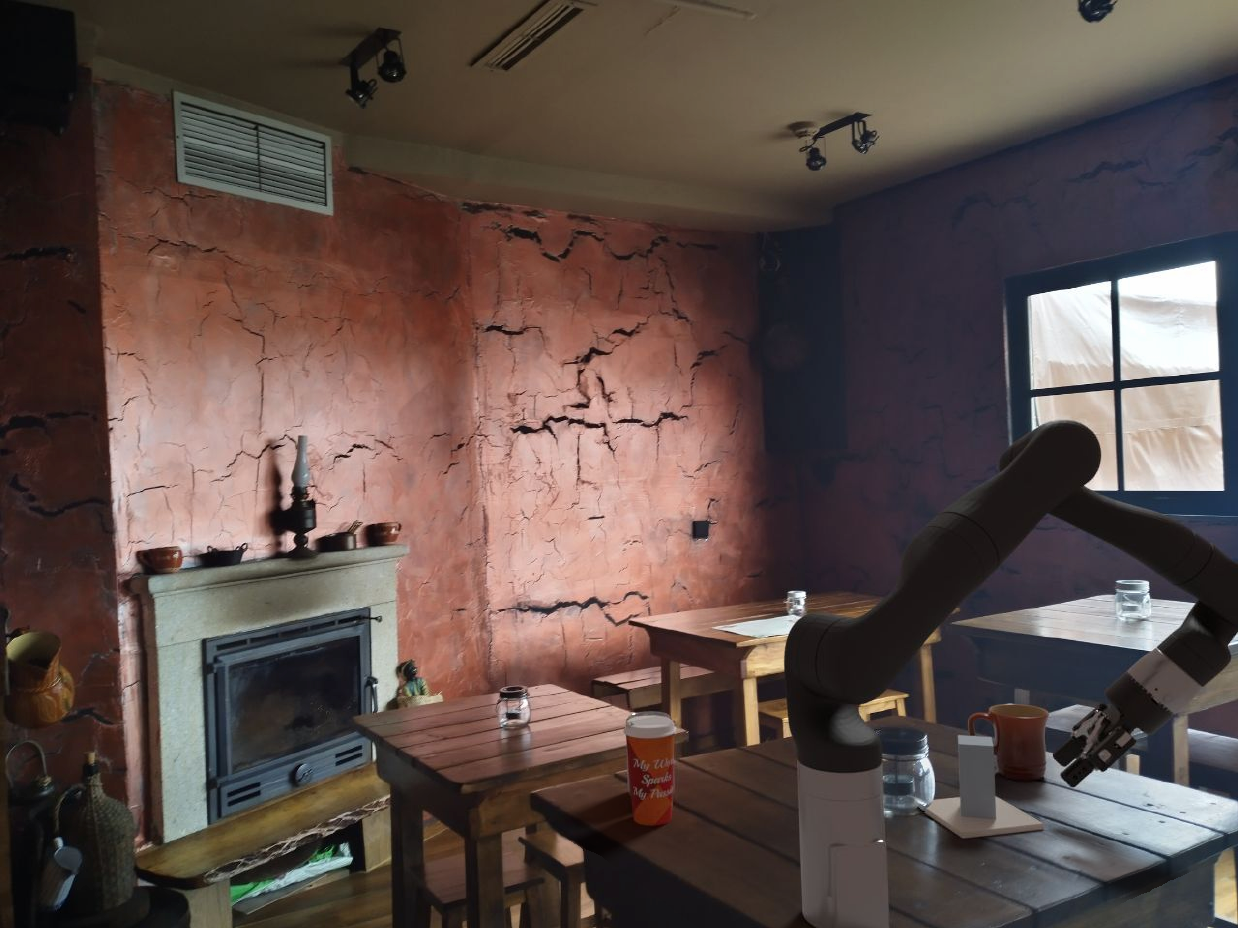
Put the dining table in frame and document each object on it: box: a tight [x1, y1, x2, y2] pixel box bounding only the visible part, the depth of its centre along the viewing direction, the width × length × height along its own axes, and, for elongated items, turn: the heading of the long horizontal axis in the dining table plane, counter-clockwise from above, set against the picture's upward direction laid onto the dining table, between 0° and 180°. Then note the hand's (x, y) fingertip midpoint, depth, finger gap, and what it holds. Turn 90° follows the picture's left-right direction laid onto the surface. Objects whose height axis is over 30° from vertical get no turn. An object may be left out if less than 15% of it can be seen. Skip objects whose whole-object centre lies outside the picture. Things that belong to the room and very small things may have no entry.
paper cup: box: [623, 716, 678, 827], centre depth 133 cm, size 8×8×14 cm
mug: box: [967, 703, 1050, 782], centre depth 147 cm, size 12×9×10 cm
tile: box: [924, 795, 1045, 840], centre depth 129 cm, size 12×12×1 cm
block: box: [957, 734, 996, 819], centre depth 129 cm, size 4×4×10 cm
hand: (1061, 771), depth 126 cm, fingers open, 8 cm apart
